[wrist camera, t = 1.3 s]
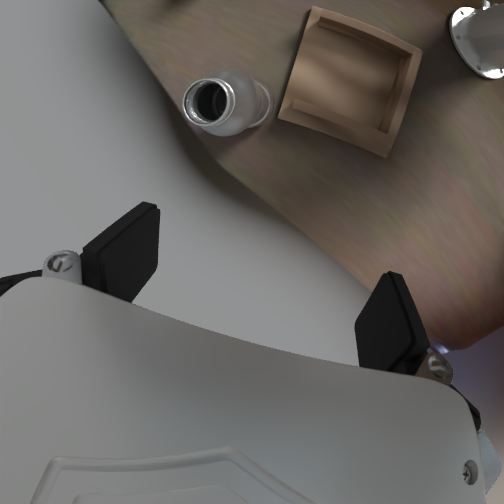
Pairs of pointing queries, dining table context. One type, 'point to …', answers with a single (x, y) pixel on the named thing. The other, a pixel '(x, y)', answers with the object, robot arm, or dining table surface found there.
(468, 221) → the dining table surface
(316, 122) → the brown tray
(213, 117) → the silver bottle
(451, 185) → the dining table surface
